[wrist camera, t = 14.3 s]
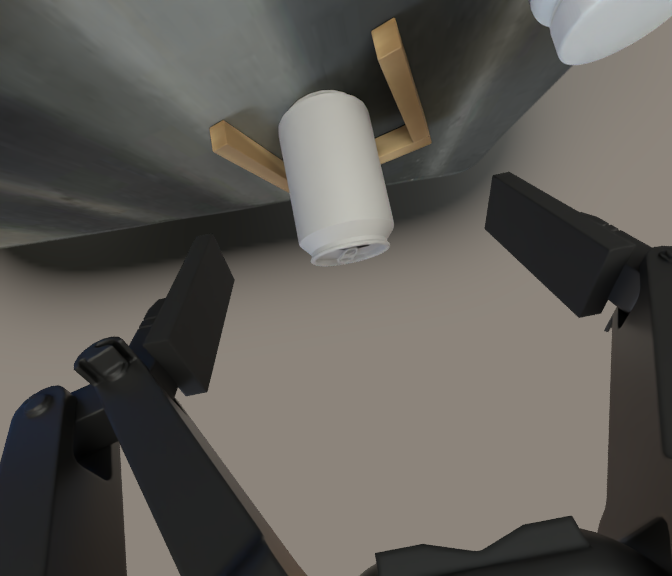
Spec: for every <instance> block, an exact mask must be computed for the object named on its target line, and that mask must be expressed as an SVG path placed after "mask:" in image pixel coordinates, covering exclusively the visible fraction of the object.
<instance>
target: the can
mask: <svg viewBox="0 0 672 576" xmlns="http://www.w3.org/2000/svg"><path fill="white" fill-rule="evenodd" d="M279 140H280V145H281V150H282V156H283V161H284V166H285V171H286V177H287V182H288V187H289V193H290V198H291V203H292V208H293V214H294V219H295V224H296V229H297V235H298V240H299V245H300V247H301V248H303V249H304V250H305V251H306V252H308V253H309V254H310V255H312V259H311V263H313V264H314V265H317V266H335V265H342V264H349V263H353V262H358V261H361V260H365V259H368V258H371V257H374V256H377V255H379V254H381V253H383V252H385V251H386V250H387V249H389V247H390V243H388V242H387V239H388V237H389V235H390V233H391V232H392V230H393V227H394V221H393V217H392V213H391V208H390V204H389V200H388V195H387V191H386V186H385V182H384V178H383V173H382V169H381V164H380V160H379V156H378V151H377V147H376V142H375V138H374V134H373V129H372V125H371V121H370V116H369V112H368V109H367V108H366V106H365V104H364V103H363V102H362V101H361V100H359V99H358V98H356V97H354V96H353V95H348V94H346V93H344V92H340V91H336V90H322V91H318V92H314V93H311V94H308V95H306V96H304V97H303V98H301V99H299V100H298V101H297V102H296V103H295V104H294V105H293V106H292V107H291V108H290V109H289V110H288V111H287V112H286V113H285V114H284V115H283V117H282V119H281V121H280V124H279Z"/></svg>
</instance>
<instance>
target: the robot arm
mask: <svg viewBox="0 0 672 576" xmlns="http://www.w3.org/2000/svg"><path fill="white" fill-rule="evenodd" d="M485 230H486V231H488V232H489V233H490V234H491V235H492V236H493V237H494V238H495V239H496V240H497V241H498V242H499V243H500V244H501V245H502V246H503V247H504V248H506V249H507V250H508V251H509V252H510V253H511V254H512V255H513V256H514V257H515V258H516V259H517V260H518V261H519V262H520V263H522V264H523V265H524V266H525V267H526V268H527V269H528V270H529V271H530V272H531V273H532V274H533V275H534V276H535V277H536V278H537V279H538V280H539V281H541V282H542V283H543V284H544V285H545V286H546V287H547V288H548V289H549V290H550V291H551V292H552V293H553V294H554V295H555V296H557V298H559V299H560V300H561V301H562V302H563V303H564V304H565V305H566V306H567V307H568V308H569V309H570V310H571V311H572V312H573V313H574V314H576V315H577V316H578V317H579V318H580V317H585V316H590V315H595V314H600V313H601V312H602V310H603V309H604V306H605V305H606V303H607V301H608V300H610V301H611V302H612V303H613V304H614V305H616V306H617V308H616V310H615V311H614V313H613V315H612V317H611V319H610V320H609V322H608V324H607V326H606V328H605V330H604V331H606V332H608V331H609V329H610V328H612V351H611V352H612V353H611V383H610V413H609V415H610V416H609V445H608V475H607V477H608V479H607V501H606V507H605V510H604V513H603V515H602V518H601V520H600V524H599V528H598V533H596V532H592V531H588V530H584V529H580V528H579V527H578V525H577V524H576V522H575V520H574V519H573V517H572V516H567V517H562V518H556V519H551V520H546V521H541V522H536V523H530V524H525V525H522V526H521V527H519V528H517V529H516V530H514V531H513V532H511V533H509V534H508V535H506V536H504V537H503V538H501V539H499V540H498V541H496V542H495V543H493V544H491V545H490V546H488V547H487V548H485V549H483V550H481V551H469V550H462V549H455V548H447V547H441V546H433V545H426V544H420V545H415V546H410V547H404V548H399V549H395V550H389V551H384V552H379V553H375V557H376V564H375V565H373V566H371V567H370V568H368V569H367V570H366V571H364V572H363V573H362V574H361V575H360V576H672V246H659V247H654V248H652V247H650V246H648V245H646V244H645V243H643V242H641V241H639V240H637V239H636V238H633V237H632V236H630V235H628V234H627V233H625V232H623V231H621V230H620V231H619V230H618V228H616V227H614V226H612V225H609V224H608V223H607V222H605V221H603V220H602V219H600V218H598V217H596V216H592V215H589V214H586V213H582V212H578V211H576V210H575V209H573V208H571V207H569V206H567V205H566V204H564V203H562V202H561V201H559V200H557V199H555V198H553V197H552V196H550V195H549V194H547V193H545V192H543V191H541V190H540V189H538V188H536V187H535V186H533V185H531V184H529V183H527V182H526V181H524V180H523V179H521V178H519V177H517V176H515V175H514V174H512V173H510V172H506V173H501V174H496V175H493V177H492V183H491V190H490V196H489V203H488V210H487V216H486V223H485ZM233 284H234V278H233V276H232V274H231V271H230V269H229V267H228V265H227V263H226V261H225V259H224V257H223V255H222V252H221V250H220V248H219V246H218V244H217V242H216V240H215V238H214V236H213V234H207V235H202V236H197V237H196V238H195V241H194V242H193V244H192V247H191V248H190V250H189V252H188V255H187V257H186V258H185V260H184V263H183V265H182V267H181V269H180V271H179V273H178V275H177V277H176V279H175V281H174V283H173V285H172V287H171V289H170V291H169V293H168V295H167V297H166V298H164V299H159V300H158V301H157V302H156V303H155V304H154V305H153V306H152V307H151V308H150V309H149V310H148V312H147V313H146V315H145V317H144V321H142V323H141V325H140V326H139V329H138V330H137V332H136V334H135V336H134V337H133V339H132V341H131V343H130V345H129V346H128V345H127V344H126V343H125V341H124V340H123V339H121V338H120V337H109V338H105V339H102V340H100V341H98V342H96V343H94V344H92V345H91V346H90V347H88V348H87V349H85V350H84V351H83V352H82V353H81V354H80V355H79V356H78V358H77V360H76V361H75V363H74V370H75V371H76V372H77V373H78V374H80V375H81V376H82V377H83V378H84V379H85V380H87V381H88V382H89V383H90V385H88V386H85V387H83V388H81V389H78V390H76V391H74V392H71V393H70V392H69V391H67V390H66V389H65V388H63V387H61V386H51V387H48V388H45V389H43V390H41V391H39V392H37V393H36V394H34V395H32V396H31V397H29V399H27V400H26V401H25V402H24V403H23V404H22V405H21V406H20V407H19V408H18V410H17V411H16V412H15V414H14V416H13V418H12V420H11V424H10V428H9V432H8V436H7V439H6V443H5V447H4V451H3V455H2V458H1V462H0V576H127V570H126V552H125V536H124V516H123V499H122V498H123V497H122V480H121V462H120V445H121V447H122V450H123V452H124V454H125V456H126V458H127V460H128V463H129V464H130V467H131V469H132V471H133V473H134V475H135V478H136V480H137V482H138V484H139V486H140V489H141V491H142V493H143V495H144V497H145V499H146V502H147V504H148V506H149V508H150V510H151V512H152V515H153V517H154V519H155V521H156V523H157V525H158V528H159V530H160V532H161V534H162V536H163V538H164V541H165V543H166V545H167V547H168V549H169V551H170V554H171V556H172V558H173V560H174V562H175V564H176V566H177V569H178V571H179V573H180V575H181V576H307V575H306V574H305V572H304V571H303V570H302V569H301V567H300V566H299V565H298V564H297V562H296V561H295V560H294V559H293V557H292V556H291V555H290V553H289V552H288V550H287V549H286V548H285V546H284V545H283V543H282V542H281V541H280V539H279V538H278V537H277V535H276V534H275V533H274V531H273V530H272V528H271V527H270V526H269V524H268V523H267V522H266V521H265V519H264V518H263V517H262V515H261V513H260V512H259V511H258V509H257V508H256V507H255V506H254V504H253V503H252V501H251V500H250V499H249V497H248V496H247V494H246V493H245V492H244V490H243V489H242V488H241V486H240V485H239V484H238V482H237V481H236V479H235V478H234V477H233V475H232V474H231V473H230V471H229V470H228V469H227V467H226V466H225V465H224V463H223V462H222V460H221V459H220V458H219V456H218V455H217V454H216V452H215V451H214V449H213V448H212V447H211V445H210V444H209V443H208V441H207V440H206V439H205V437H204V436H203V435H202V433H201V432H200V430H199V429H198V428H197V426H196V425H195V424H194V422H193V421H192V420H191V418H190V417H189V416H188V414H187V413H186V411H185V410H184V409H183V407H182V406H181V404H180V403H179V402H178V401H177V400H176V398H175V394H176V391H177V388H179V389H180V390H181V391H182V392H183V393H184V395H185V396H190V395H195V394H200V393H205V392H207V391H208V387H209V383H210V379H211V375H212V371H213V366H214V362H215V358H216V354H217V350H218V346H219V342H220V338H221V333H222V329H223V325H224V321H225V317H226V312H227V308H228V305H229V300H230V296H231V292H232V288H233Z"/></svg>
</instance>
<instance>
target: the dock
mask: <svg viewBox="0 0 672 576" xmlns="http://www.w3.org/2000/svg"><path fill="white" fill-rule="evenodd" d="M371 34H372V38H373V42H374V47H375V51H376V55H377V59H378V62H379V64H380V67H381V69H382V71H383V74H384V76H385V78H386V80H387V83H388V85H389V87H390V90H391V92H392V94H393V97H394V99H395V101H396V104H397V106H398V108H399V111H400V113H401V115H402V118H403V120H404V122H405V125H404V126H402V127H400V128H398V129H395V130H393V131H391V132H389V133H387V134H384V135H382V136H380V137H378V138H375V142H376V147H377V151H378V156H379V160H380V164H382V163H385V162H387V161H390V160H392V159H395V158H397V157H400V156H402V155H404V154H407V153H409V152H412V151H414V150H417V149H419V148H422V147H424V146H426V145H429V144H431V143H432V141H431V137H430V133H429V129H428V125H427V122H426V119H425V115H424V112H423V109H422V105H421V102H420V99H419V95H418V92H417V89H416V86H415V82H414V79H413V76H412V72H411V69H410V66H409V62H408V59H407V56H406V53H405V49H404V46H403V43H402V39H401V36H400V33H399V29H398V26H397V23H396V20H395V18H392V19H391V20H389V21H387V22H386V23H384V24H382V25H381V26H379V27H377V28H376V29H374V30H372V31H371ZM209 130H210V136H211V142H212V148H213V152H215V153H216V154H218V155H220V156H222V157H224V158H226V159H227V160H229V161H231V162H233V163H235V164H237V165H239V166H240V167H242V168H244V169H246V170H248V171H250V172H252V173H253V174H255V175H257V176H259V177H261V178H263V179H264V180H266V181H268V182H270V183H272V184H274V185H276V186H277V187H279V188H281V189H283V190H285V191H287V192H289V187H288V182H287V177H286V171H285V166H284V161H282V160H281V159H279V158H278V157H276V156H275V155H273V154H272V153H270V152H269V151H268V150H266V149H265V148H263V147H262V146H260V145H259V144H257V143H256V142H254V141H253V140H251V139H250V138H249V137H247V136H246V135H244V134H243V133H241V132H240V131H238V130H237V129H235V128H234V127H232V126H231V125H230V124H228V123H227V122H225V121H224V120H222V121H221V122H219V123H217V124H216V125H214V126H212V127H211V128H209Z"/></svg>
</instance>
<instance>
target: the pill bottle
mask: <svg viewBox="0 0 672 576" xmlns="http://www.w3.org/2000/svg"><path fill="white" fill-rule="evenodd" d="M529 3H530V8H531V10H532V13H533V15H534V17H535V18H536V20H537V21H538V22H539V23H541V24H542V25H544V26H547V27H550V33H551V37H552V40H553V42H554V45H555V48H556V51H557V54H558V57H559V59H560V60H561V61H562V62H563V63H565V64H568V65H580V64H585V63H590V62H594V61H597V60H600V59H602V58H605V57H607V56H609V55H612V54H614V53H616V52H618V51H620V50H622V49H624V48H626V47H627V46H629V45H631V44H633V43H635V42H636V41H638V40H640V39H641V38H643V37H644V36H646V35H647V34H649V33H650V32H652V31H653V30H655V29H656V28H657V27H659V26H660V25H661V24H663V23H664V22H665V21H666V20H667V19H669V18H670V17H671V16H672V0H529Z"/></svg>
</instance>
